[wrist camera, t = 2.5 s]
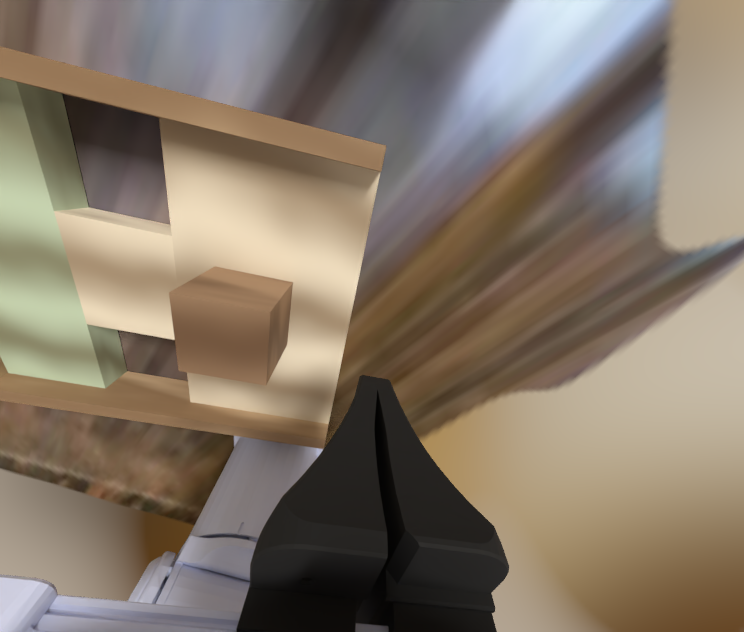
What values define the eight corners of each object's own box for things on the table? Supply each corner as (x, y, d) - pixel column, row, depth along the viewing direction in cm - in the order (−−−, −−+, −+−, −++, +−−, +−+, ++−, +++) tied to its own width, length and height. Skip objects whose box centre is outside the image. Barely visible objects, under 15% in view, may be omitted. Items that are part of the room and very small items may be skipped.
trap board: (330, 413, 24) (323, 449, 21) (29, 364, 22) (-29, 396, 19) (383, 152, 15) (386, 145, 12) (-119, 24, 13) (-278, -26, 10)
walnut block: (287, 344, 18) (266, 385, 15) (217, 331, 18) (178, 370, 14) (293, 282, 16) (270, 312, 13) (214, 266, 16) (168, 292, 12)
